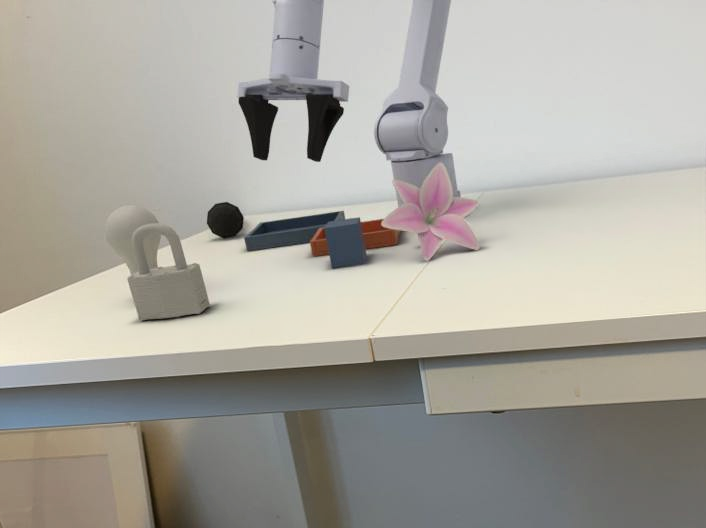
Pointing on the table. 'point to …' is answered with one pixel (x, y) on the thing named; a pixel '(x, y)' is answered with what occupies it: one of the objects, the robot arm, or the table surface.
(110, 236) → the lightbulb
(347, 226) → the blue block
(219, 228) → the faceted black orb
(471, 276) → the table surface
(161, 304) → the padlock
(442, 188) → the lily
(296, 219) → the slate tray
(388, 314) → the table surface
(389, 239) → the terracotta tray
